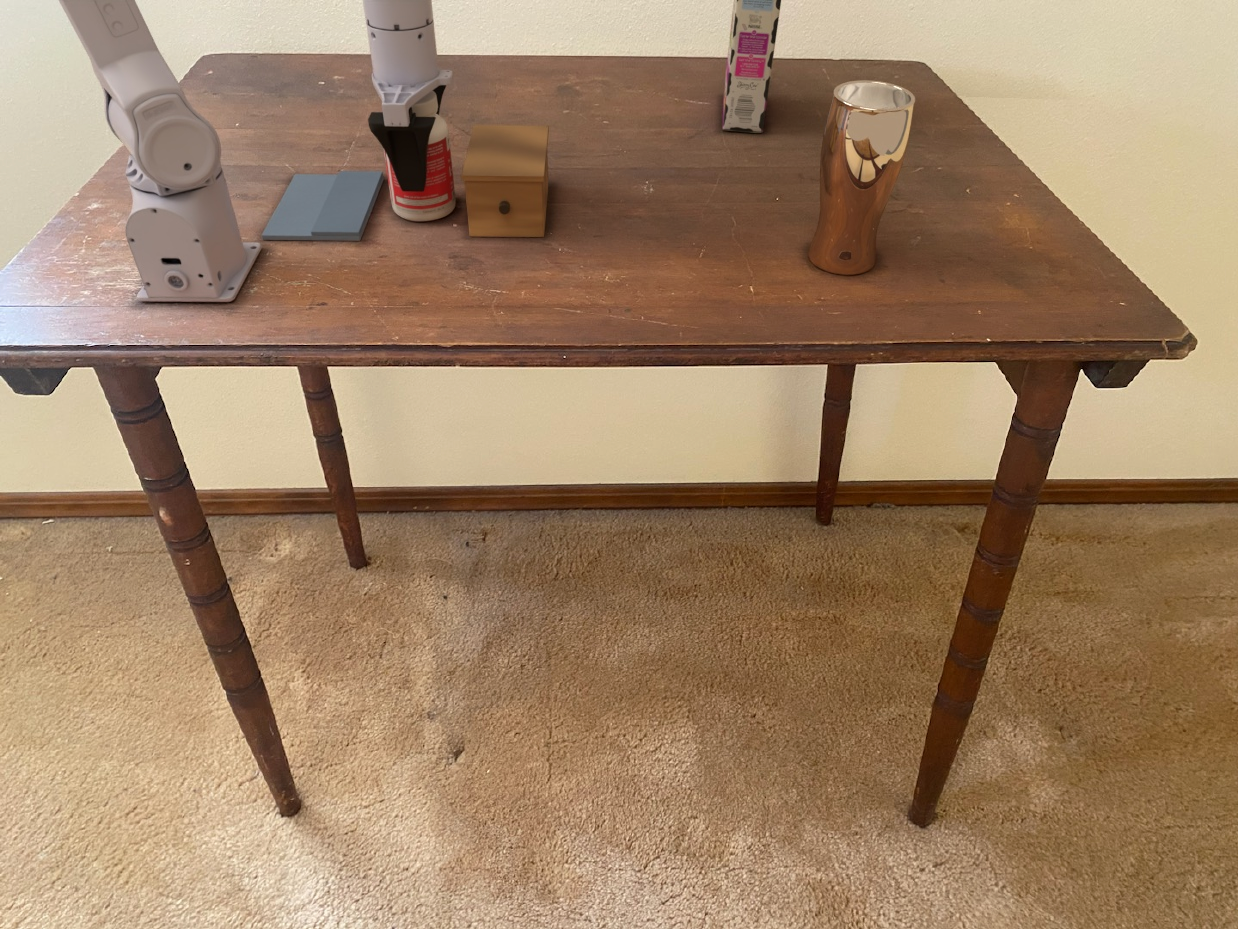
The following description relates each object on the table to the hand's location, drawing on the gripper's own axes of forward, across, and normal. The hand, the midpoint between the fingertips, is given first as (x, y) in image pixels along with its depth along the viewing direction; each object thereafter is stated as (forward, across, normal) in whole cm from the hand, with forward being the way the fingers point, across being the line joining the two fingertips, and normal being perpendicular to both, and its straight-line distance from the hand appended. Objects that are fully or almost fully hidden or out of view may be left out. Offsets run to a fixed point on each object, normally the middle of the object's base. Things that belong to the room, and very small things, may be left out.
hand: (419, 171), depth 89 cm
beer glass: (+4, -9, -40) cm, 41 cm away
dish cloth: (+4, 0, +10) cm, 10 cm away
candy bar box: (+4, +25, -34) cm, 43 cm away
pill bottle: (+4, 0, 0) cm, 4 cm away
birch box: (+4, 0, -8) cm, 9 cm away
